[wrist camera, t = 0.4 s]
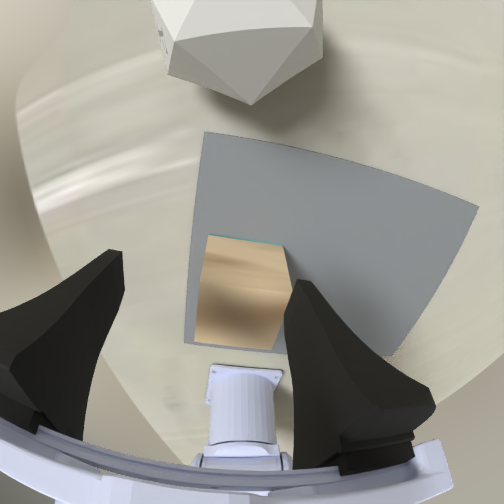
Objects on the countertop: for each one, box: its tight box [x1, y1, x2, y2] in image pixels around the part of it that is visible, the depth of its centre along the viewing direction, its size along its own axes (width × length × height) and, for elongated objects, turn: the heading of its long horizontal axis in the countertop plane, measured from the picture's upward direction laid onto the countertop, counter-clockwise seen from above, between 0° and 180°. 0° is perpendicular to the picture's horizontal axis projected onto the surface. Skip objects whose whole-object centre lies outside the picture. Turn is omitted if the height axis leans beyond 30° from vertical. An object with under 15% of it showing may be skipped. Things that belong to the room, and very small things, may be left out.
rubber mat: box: [184, 132, 479, 356], centre depth 24 cm, size 20×24×1 cm
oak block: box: [194, 234, 292, 350], centre depth 21 cm, size 6×6×6 cm
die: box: [150, 0, 323, 105], centre depth 11 cm, size 8×9×10 cm
